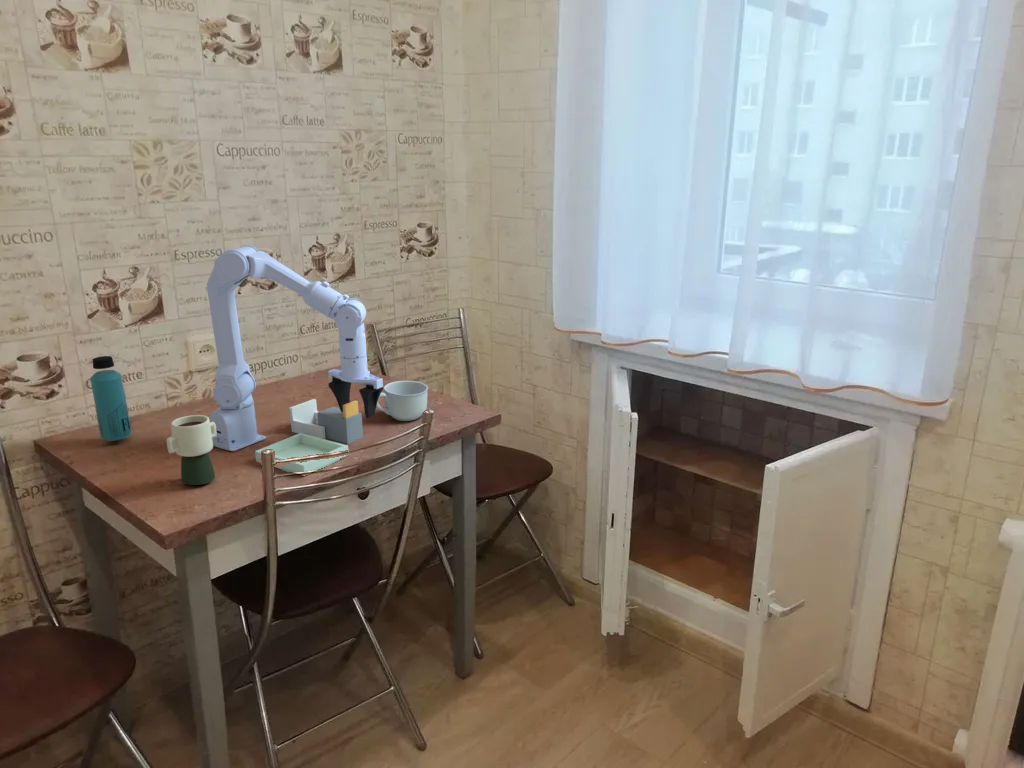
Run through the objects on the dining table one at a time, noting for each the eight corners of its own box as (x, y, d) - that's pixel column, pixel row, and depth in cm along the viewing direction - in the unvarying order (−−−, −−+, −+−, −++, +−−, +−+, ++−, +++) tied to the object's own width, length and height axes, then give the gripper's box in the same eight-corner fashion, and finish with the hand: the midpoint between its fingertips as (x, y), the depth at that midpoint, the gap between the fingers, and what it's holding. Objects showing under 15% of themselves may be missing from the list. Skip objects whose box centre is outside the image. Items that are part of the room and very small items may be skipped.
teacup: (420, 407, 190) (419, 377, 187) (435, 420, 180) (433, 389, 178) (367, 415, 184) (365, 385, 182) (379, 429, 175) (377, 397, 172)
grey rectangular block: (347, 444, 166) (344, 406, 163) (319, 437, 170) (316, 400, 168) (363, 437, 170) (360, 400, 167) (335, 430, 174) (332, 394, 172)
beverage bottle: (128, 446, 165) (113, 360, 159) (96, 448, 164) (80, 361, 158) (137, 435, 171) (123, 352, 165) (107, 437, 170) (91, 354, 164)
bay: (323, 440, 168) (320, 415, 166) (291, 431, 173) (289, 407, 172) (346, 430, 174) (344, 406, 172) (315, 422, 179) (313, 398, 178)
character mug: (209, 468, 153) (201, 409, 149) (233, 475, 150) (225, 415, 146) (163, 488, 144) (153, 426, 140) (186, 496, 141) (177, 432, 137)
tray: (304, 477, 149) (303, 465, 148) (256, 462, 156) (254, 451, 155) (348, 456, 159) (348, 445, 158) (301, 443, 166) (300, 432, 166)
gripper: (390, 355, 161) (394, 414, 165) (342, 347, 168) (346, 403, 172) (368, 363, 155) (372, 423, 159) (319, 354, 162) (324, 412, 166)
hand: (357, 414), depth 165 cm, fingers open, 7 cm apart
